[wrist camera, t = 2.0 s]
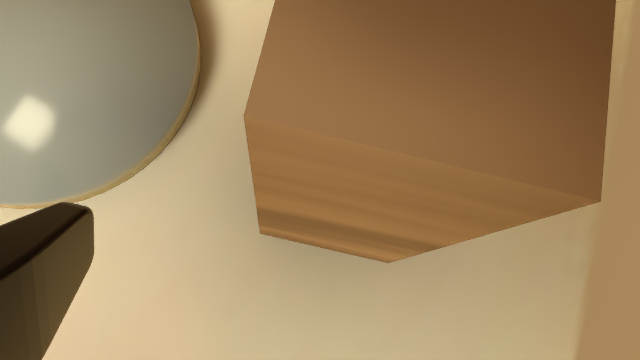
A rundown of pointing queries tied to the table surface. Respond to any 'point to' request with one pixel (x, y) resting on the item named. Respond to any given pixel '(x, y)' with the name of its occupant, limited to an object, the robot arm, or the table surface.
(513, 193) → the walnut block
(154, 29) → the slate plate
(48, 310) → the robot arm
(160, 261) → the table surface
